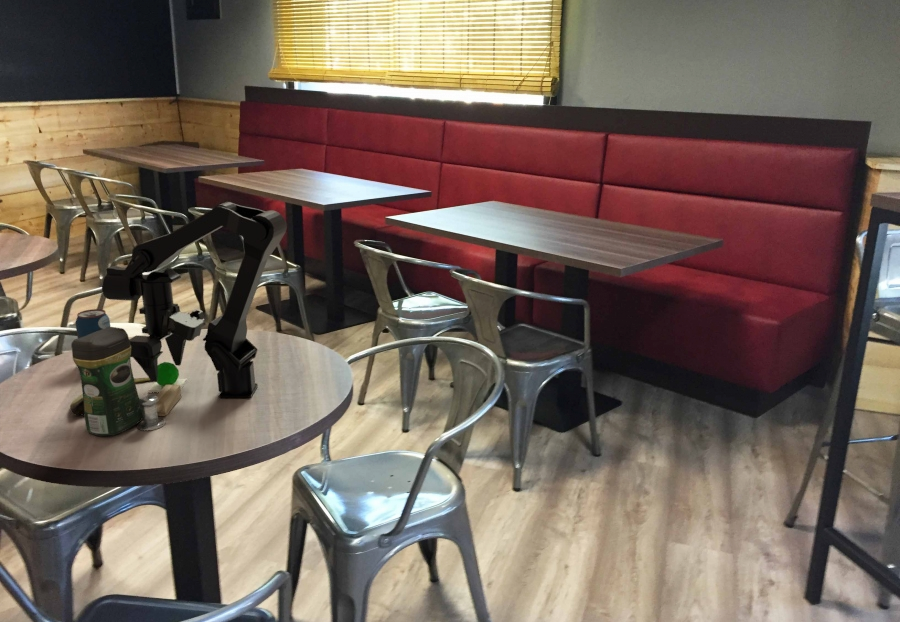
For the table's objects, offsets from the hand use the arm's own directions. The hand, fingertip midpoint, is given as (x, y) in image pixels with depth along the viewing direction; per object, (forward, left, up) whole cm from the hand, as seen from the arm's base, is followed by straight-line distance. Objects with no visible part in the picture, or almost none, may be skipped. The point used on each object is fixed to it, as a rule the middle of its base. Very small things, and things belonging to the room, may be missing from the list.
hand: (166, 373), depth 155 cm
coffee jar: (+3, +19, -3) cm, 19 cm away
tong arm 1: (-2, +11, -3) cm, 12 cm away
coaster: (0, 0, -3) cm, 3 cm away
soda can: (+21, -14, -3) cm, 25 cm away
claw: (+10, +5, -4) cm, 12 cm away
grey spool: (-3, +18, -3) cm, 18 cm away
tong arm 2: (-4, +11, -3) cm, 12 cm away
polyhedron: (0, 0, -3) cm, 3 cm away
